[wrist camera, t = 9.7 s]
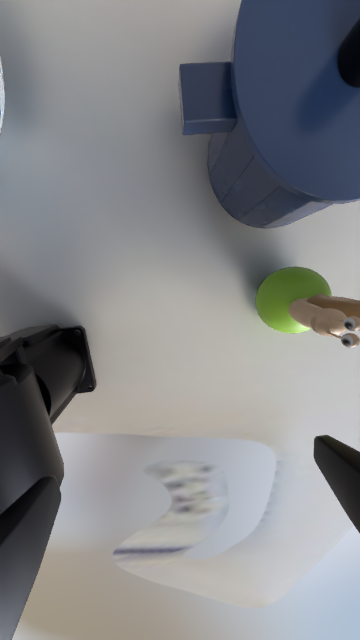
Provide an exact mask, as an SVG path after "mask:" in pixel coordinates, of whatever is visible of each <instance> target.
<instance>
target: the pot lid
mask: <svg viewBox="0 0 360 640" xmlns="http://www.w3.org/2000/svg"><path fill="white" fill-rule="evenodd" d="M231 84H232V96H233V101H234V106H235V111H236V116H237V119H238V122H239V125H240V128H241V131H242V134H243V136H244V138H245V141H246V143H247V145H248V147H249V149H250V151H251V152H252V154H253V156H254V157H255V159H256V160H257V162H258V163H259V164H260V166H261V167H262V168H263V169H264V171H265V172H266V173H267V174H268V175H269V176H270V177H271V178H272V179H273V180H274V181H275V182H276V183H277V184H279V185H280V186H282V187H283V188H284V189H286V190H287V191H289V192H291V193H293V194H295V195H297V196H299V197H301V198H304V199H307V200H310V201H313V202H319V203H326V204H343V203H349V202H355V201H359V200H360V0H242V1H241V4H240V8H239V12H238V16H237V20H236V25H235V29H234V34H233V43H232V51H231Z"/></svg>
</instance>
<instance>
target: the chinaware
mask: <svg viewBox="0 0 360 640" xmlns="http://www.w3.org/2000/svg"><path fill="white" fill-rule="evenodd" d="M4 106H5V90H4V78H3V70H2V64H1V58H0V133H1V126H2V122H3V116H4Z"/></svg>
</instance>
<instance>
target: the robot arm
mask: <svg viewBox="0 0 360 640" xmlns="http://www.w3.org/2000/svg"><path fill="white" fill-rule="evenodd" d="M77 330H79V331H80V332H81V334H78V333H77ZM89 385H91V386H92V387H89ZM95 388H96V381H95V376H94V371H93V366H92V361H91V357H90V352H89V347H88V342H87V337H86V333H85V329H84V328H83V327H81V326H75V327H66V328H60V327H59V326H58V325H48V326H39V327H30V328H26V329H23V330H20V331H18V332H15V333H12V334H9V335H7V336H4V337H0V640H12V637H13V635H14V632H15V630H16V627H17V625H18V622H19V619H20V617H21V614H22V612H23V609H24V607H25V604H26V602H27V599H28V597H29V594H30V592H31V589H32V587H33V584H34V581H35V579H36V576H37V574H38V571H39V568H40V565H41V562H42V559H43V556H44V553H45V550H46V546H47V543H48V540H49V537H50V534H51V531H52V527H53V525H54V521H55V518H56V515H57V512H58V508H59V505H60V502H61V492H60V489H59V488H60V485H61V483H62V480H63V477H64V463H63V460H62V457H61V454H60V451H59V447H58V444H57V441H56V438H55V435H54V432H53V429H52V424H53V423H54V422H55V420H56V419H57V418H58V416H59V415H60V414H61V413H62V411H63V410H64V409H65V407H66V406H67V405H68V404H69V402H70V401H71V400H72V398H73V397H74V396H75V395H76V394H77V393H85V392H92V391H93V390H94V389H95ZM314 459H315V462H316V464H317V465H318V467H319V469H320V470H321V472H322V474H323V475H324V477H325V479H326V480H327V482H328V484H329V485H330V487H331V489H332V490H333V492H334V494H335V495H336V497H337V499H338V500H339V502H340V504H341V505H342V507H343V509H344V510H345V512H346V514H347V515H348V517H349V518H350V520H351V521H352V523H353V524H354V526H355V527H356V529H357V530H358V531H359V533H360V452H359V451H357V450H355V449H353V448H351V447H349V446H348V445H346V444H344V443H342V442H340V441H338V440H336V439H334V438H332V437H331V436H328V435H322V436H316V437H315V439H314Z"/></svg>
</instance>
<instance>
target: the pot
mask: <svg viewBox="0 0 360 640" xmlns="http://www.w3.org/2000/svg"><path fill="white" fill-rule="evenodd" d="M178 84H179V97H180V109H181V121H182V133H183V135H193V134H208V133H212V135H211V139H210V142H209V147H208V170H209V177H210V181H211V185H212V187H213V190H214V193H215V195H216V197H217V199H218V200H219V202H220V203H221V205H222V206H223V207H224V209H225V210H226V211H227V212H228V213H229V214H230V215H231V216H233V217H234V218H235V219H237V220H238V221H240V222H242V223H244V224H246V225H248V226H252V227H256V228H275V227H279V226H285V225H287V224H290V223H292V222H294V221H296V220H299V219H301V218H303V217H305V216H308V215H310V214H312V213H314V212H317V211H319V210H321V209H323V208H326V207H328V206H330V205H332V204H326V203H319V202H313V201H310V200H307V199H304V198H301V197H299V196H297V195H295V194H293V193H291V192H289V191H287V190H286V189H284V188H283V187H282V186H280V185H279V184H277V183H276V182H275V181H274V180H273V179H272V178H271V177H270V176H269V175H268V174H267V173H266V172H265V171H264V169H263V168H262V167H261V166H260V164H259V163H258V162H257V160H256V159H255V157H254V156H253V154H252V152H251V151H250V149H249V147H248V145H247V143H246V141H245V138H244V136H243V134H242V131H241V128H240V125H239V122H238V119H237V116H236V111H235V106H234V101H233V96H232V84H231V62H210V63H190V64H180V67H179V82H178Z"/></svg>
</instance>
